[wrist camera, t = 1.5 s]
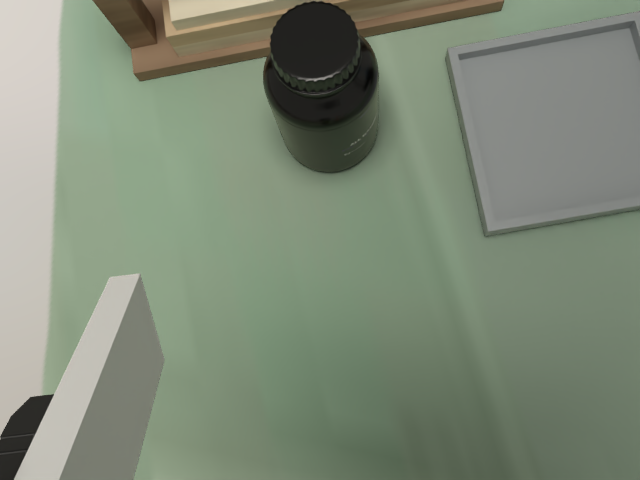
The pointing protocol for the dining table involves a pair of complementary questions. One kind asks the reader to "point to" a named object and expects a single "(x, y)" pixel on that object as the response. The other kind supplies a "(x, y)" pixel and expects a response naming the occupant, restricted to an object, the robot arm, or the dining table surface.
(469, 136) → the grey tray
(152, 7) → the walnut rack
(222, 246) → the dining table surface
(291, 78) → the supplement bottle
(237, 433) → the dining table surface
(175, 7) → the offcut stack
